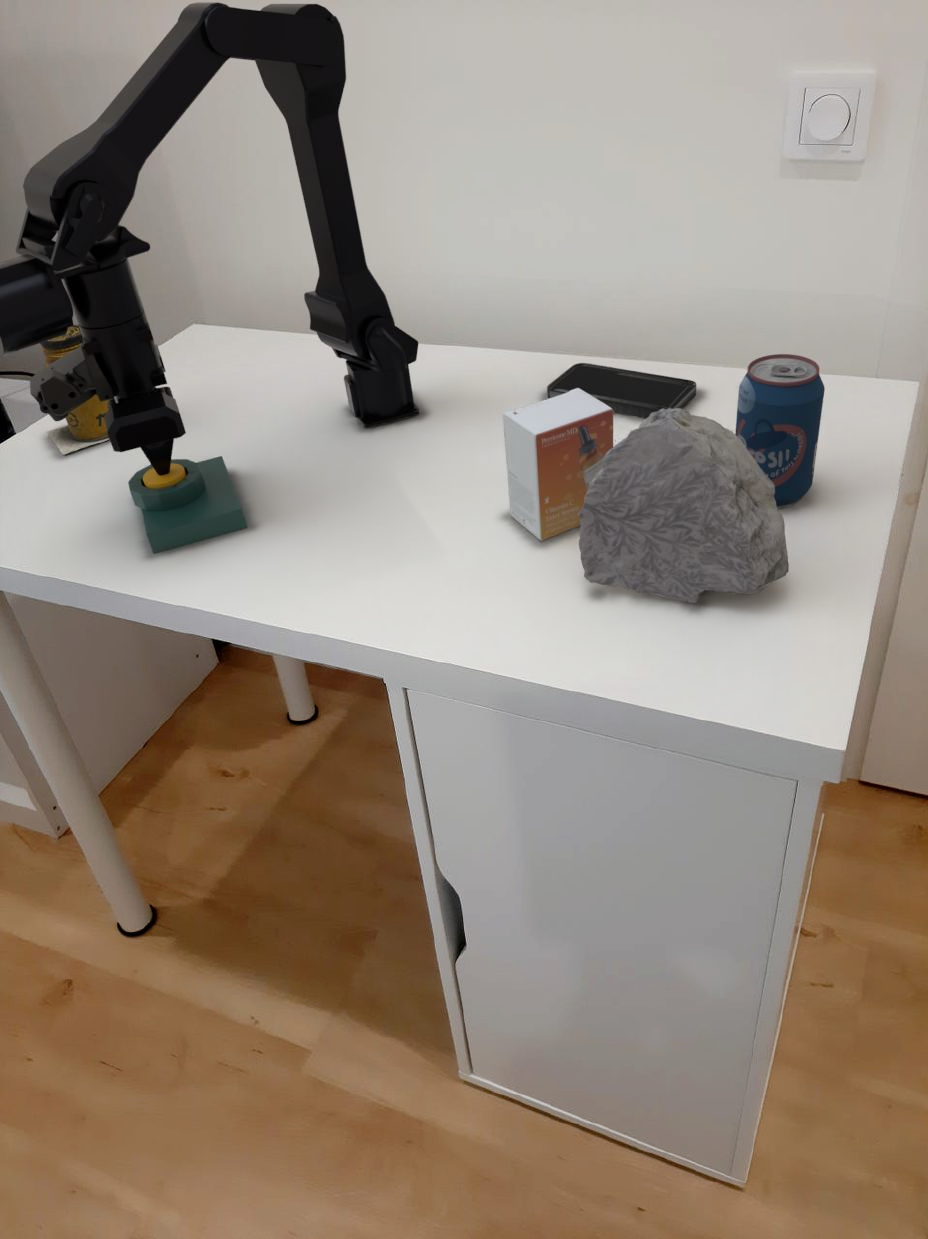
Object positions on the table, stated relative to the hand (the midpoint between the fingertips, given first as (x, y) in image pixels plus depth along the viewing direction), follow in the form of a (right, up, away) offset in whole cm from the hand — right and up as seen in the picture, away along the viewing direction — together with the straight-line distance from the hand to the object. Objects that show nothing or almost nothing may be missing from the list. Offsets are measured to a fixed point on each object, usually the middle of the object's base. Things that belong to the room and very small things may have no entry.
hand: (163, 473), depth 94 cm
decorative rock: (+47, -11, -15) cm, 50 cm away
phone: (+46, +10, +12) cm, 49 cm away
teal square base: (+2, -4, +2) cm, 5 cm away
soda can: (+57, -3, -6) cm, 57 cm away
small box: (+38, -5, -5) cm, 39 cm away
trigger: (0, -1, +1) cm, 2 cm away
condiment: (-14, +7, +19) cm, 25 cm away
